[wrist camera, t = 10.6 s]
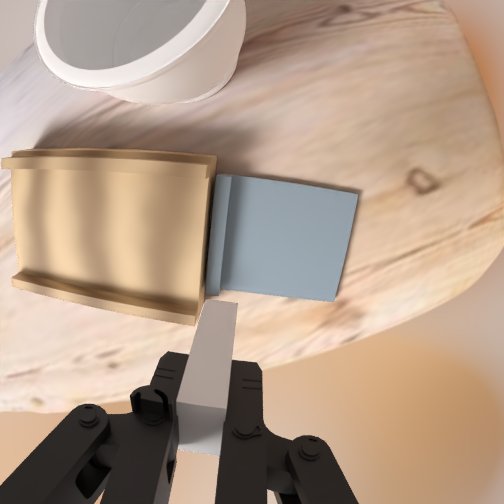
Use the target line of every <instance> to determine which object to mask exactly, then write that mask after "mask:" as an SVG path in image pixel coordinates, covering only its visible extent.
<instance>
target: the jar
mask: <svg viewBox="0 0 504 504" xmlns="http://www.w3.org/2000/svg"><path fill="white" fill-rule="evenodd" d="M245 29H246V7H245V1H244V0H39V2H38V5H37V9H36V13H35V18H34V27H33V36H34V44H35V48H36V52H37V54H38V57H39V59H40V61H41V63H42V64H43V66H44V67H45V68H46V70H47V71H48V72H49V73H50V74H51V75H53V76H54V77H55V78H57V79H58V80H60V81H62V82H64V83H66V84H68V85H70V86H73V87H75V88H79V89H83V90H88V91H103V92H105V93H107V94H109V95H111V96H114V97H116V98H119V99H122V100H125V101H129V102H134V103H140V104H169V103H176V102H181V103H189V102H196V101H200V100H203V99H206V98H208V97H210V96H212V95H213V94H215V93H216V92H218V91H219V90H220V89H221V88H223V87H224V86H225V85H226V83H227V82H228V81H229V80H230V78H231V77H232V75H233V73H234V71H235V69H236V66H237V62H238V55H239V52H240V49H241V46H242V43H243V39H244V35H245Z"/></svg>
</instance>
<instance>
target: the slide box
mask: <svg viewBox="0 0 504 504" xmlns="http://www.w3.org/2000/svg"><path fill="white" fill-rule="evenodd" d="M216 163H217V155H207V154H196V153H184V152H171V151H156V150H137V149H111V148H42V149H27V150H20V151H13V152H12V157H8V158H2V169H11V188H12V211H13V225H14V236H15V245H16V253H17V261H18V268H19V273H18V274H16V275H15V276H13V277H12V278H11V280H12V286H13V287H15V288H19V289H22V290H26V291H30V292H33V293H37V294H41V295H45V296H49V297H53V298H57V299H61V300H65V301H69V302H73V303H77V304H82V305H86V306H90V307H95V308H99V309H104V310H109V311H114V312H118V313H123V314H128V315H134V316H139V317H144V318H149V319H155V320H161V321H166V322H172V323H178V324H184V325H191V326H195V323H196V322H197V321H198V318H199V315H200V312H201V309H202V307H203V304H204V292H205V279H206V266H207V254H208V242H209V231H210V220H211V210H212V200H213V190H214V181H215V172H216Z"/></svg>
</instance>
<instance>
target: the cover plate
mask: <svg viewBox="0 0 504 504" xmlns="http://www.w3.org/2000/svg"><path fill="white" fill-rule="evenodd" d="M357 199H358V194H356V193H351V192H346V191H340V190H335V189H329V188H323V187H317V186H311V185H305V184H299V183H292V182H285V181H279V180H272V179H264V178H257V177H249V176H241V175H233V174H224V173H219V174H218V175H216V183H215V192H214V202H213V212H212V222H211V232H210V243H209V255H208V266H207V279H206V292H205V294H207V295H214V296H219V293H220V289H226V290H234V291H242V292H249V293H257V294H266V295H274V296H282V297H291V298H300V299H309V300H319V301H328V302H334V300H335V296H336V292H337V288H338V284H339V280H340V276H341V272H342V268H343V264H344V260H345V256H346V251H347V247H348V242H349V238H350V233H351V229H352V224H353V219H354V214H355V209H356V204H357Z"/></svg>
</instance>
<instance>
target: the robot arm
mask: <svg viewBox="0 0 504 504" xmlns="http://www.w3.org/2000/svg"><path fill="white" fill-rule="evenodd" d="M237 307H238V303H233V302H225V301H218V300H210V299H206V300H205V303H204V307H203V310H202V313H201V317H200V320H199V323H198V327H197V330H196V334H195V337H194V340H193V344H192V347H191V351H190V354H189V355H188V354H181V353H175V352H169V351H168V352H167V353H166V354H165V355H163V356H162V357H161V358H160V360H159V362H158V365H157V368H156V370H155V373H154V376H153V378H152V380H151V383H150V385H147V386H142V387H139V388H137V389H136V390H134V391H133V392H132V394H131V395H130V400H131V405H132V411H133V412H131V413H127V414H107V413H106V412H105V410H104V409H103V408H101V407H100V406H97V405H94V404H83V405H79V406H77V407H76V408H74V409H73V410H72V411H71V412H70V413H69V414H68V415H67V416H66V417H65V418H64V419H63V420H62V421H61V422H60V423H59V425H57V427H56V428H55V429H54V430H53V431H52V432H51V433H50V434H49V435H48V436H47V437H46V438H45V439H44V440H43V441H42V442H41V443H40V444H39V445H38V446H37V447H36V449H34V450H33V452H32V453H31V454H30V455H29V456H28V457H27V458H26V459H25V460H24V461H23V462H22V463H21V464H20V465H19V466H18V467H17V468H16V470H15V471H14V472H13V473H12V474H11V475H10V476H9V477H8V478H7V479H6V480H5V481H4V482H3V484H2V485H1V486H0V504H94V503H95V502H96V500H97V499H98V497H99V496H100V495H101V493H102V492H103V491H104V493H103V496H102V499H101V502H100V504H168V502H169V497H170V492H171V487H172V482H173V477H174V472H175V468H176V463H177V461H176V453H177V448H178V447H179V450H184V451H190V452H197V453H204V454H211V455H219V456H220V459H219V468H218V476H217V486H216V496H215V504H267V489H268V490H271V491H274V494H275V497H276V500H277V503H278V504H359V503H358V502H357V500H356V498H355V496H354V494H353V492H352V490H351V488H350V486H349V484H348V482H347V480H346V479H345V476H344V474H343V472H342V470H341V469H340V467H339V465H338V463H337V461H336V459H335V457H334V455H333V453H332V451H331V449H330V447H329V446H328V445H327V443H326V442H325V441H324V440H322V439H320V438H319V437H315V436H311V435H304V436H300V437H297V438H295V439H294V440H293V441H292V440H289V439H286V438H282V437H280V436H277V435H275V434H273V433H272V432H271V431H269V430H268V428H267V427H266V426H265V424H264V421H263V391H262V370H261V369H260V367H259V365H258V364H257V363H256V362H247V361H238V360H232V353H233V344H234V334H235V325H236V316H237ZM104 489H105V490H104Z"/></svg>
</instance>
